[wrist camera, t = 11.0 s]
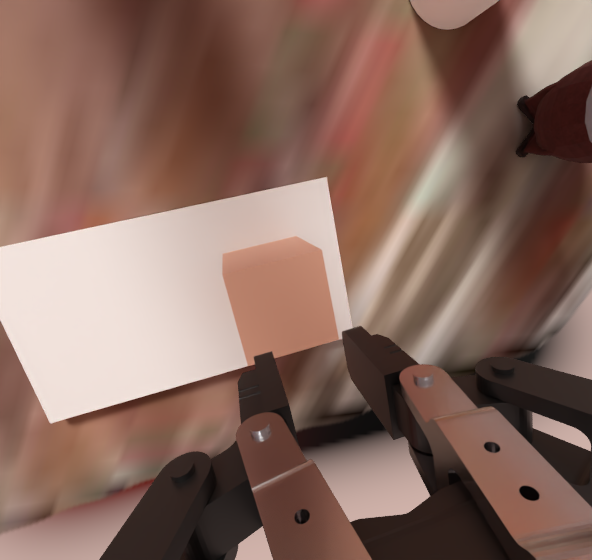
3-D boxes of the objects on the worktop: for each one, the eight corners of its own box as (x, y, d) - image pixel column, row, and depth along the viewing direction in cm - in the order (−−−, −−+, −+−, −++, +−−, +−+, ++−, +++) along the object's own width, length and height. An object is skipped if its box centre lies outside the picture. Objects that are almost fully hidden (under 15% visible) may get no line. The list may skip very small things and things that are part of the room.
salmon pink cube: (241, 323, 26) (248, 366, 20) (222, 253, 25) (222, 274, 18) (310, 304, 27) (339, 339, 20) (296, 235, 26) (321, 249, 19)
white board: (59, 411, 26) (50, 423, 25) (-16, 250, 23) (-32, 254, 22) (347, 328, 30) (353, 335, 29) (320, 178, 26) (326, 177, 25)
